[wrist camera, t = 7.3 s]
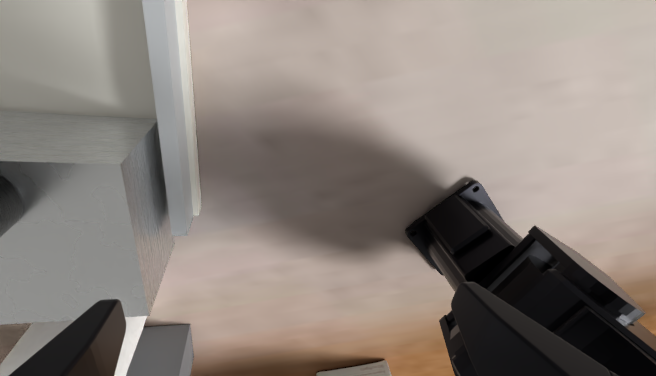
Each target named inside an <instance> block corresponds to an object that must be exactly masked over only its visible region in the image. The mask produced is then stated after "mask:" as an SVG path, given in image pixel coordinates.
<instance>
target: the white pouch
mask: <svg viewBox="0 0 656 376" xmlns="http://www.w3.org/2000/svg"><path fill="white" fill-rule="evenodd" d="M146 318H147V316H138V317H125V320H126V332H125V336H124V340H123V344H122V348H121V351H120V355H119V359H118V363H117V367H116V371H115V374H114V376H126V374H127V370H128V368H129V365H130V363H131V360H132V357H133V354H134V351H135V349H136V346H137V343H138V340H139V338H140V335H141V333H142V330H143V327H144V324H145V321H146ZM73 321H75V320H70V321H53V322H36V323H32V324H31V325H30V327H29V328H28V329H27V331H26V332H25V333H24V334H23V336H22V337H21V338H20V340H19V341H18V342H17V344H16V345H15V346H14V347H13V349H12V350H11V352H10V353H9V354H8V355H7V356H6V358H5V359H4V360H3V362H2V363H1V364H0V376H9V375H10V374H11V373H12V372H13V371H15V370H16V369H17V368H18V367H19V366H21V365H22V364H23V363H24V362H25V361H27V360H28V359H29V358H30V357H31V356H33V355H34V354H35V353H36V352H37V351H39V350H40V349H41V348H42V347H43V346H45V345H46V344H47V343H48V342H49V341H51V340H52V339H53V338H54V337H55V336H57V335H58V334H59V333H60V332H61V331H63V330H64V329H65V328H66V327H67V326H69V325H70V324H71V323H72V322H73Z"/></svg>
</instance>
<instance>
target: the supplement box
mask: <svg viewBox="0 0 656 376" xmlns="http://www.w3.org/2000/svg"><path fill="white" fill-rule="evenodd" d="M316 376H392V375H391V373H390V370H389V366H388V363H387V361H386V360H383V361H380V362H377V363H371V364H366V365H361V366H355V367H349V368H343V369H337V370H331V371H321V372H318V373H317V374H316Z"/></svg>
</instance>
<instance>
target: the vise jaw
mask: <svg viewBox="0 0 656 376" xmlns="http://www.w3.org/2000/svg"><path fill="white" fill-rule="evenodd" d="M173 247H174V237H173V236H172V232H171V224H170V216H169V208H168V200H167V192H166V185H165V177H164V169H163V161H162V153H161V145H160V138H159V130H158V122H157V119H146V118H128V117H110V116H92V115H74V114H56V113H38V112H20V111H2V110H0V325H2V324H19V323H36V322H53V321H70V320H76V319H77V318H78V317H79V316H81V315H82V314H83V313H84V312H85V311H87V310H88V309H89V308H90V307H91V306H93V305H94V304H95V303H96V302H98V301H100V300H104V299H119V300H120V301H121V303H122V308H123V312H124V316H125V317H138V316H149V315H150V312H151V310H152V307H153V304H154V301H155V298H156V295H157V292H158V290H159V287H160V284H161V281H162V278H163V275H164V273H165V270H166V267H167V264H168V261H169V258H170V255H171V253H172V250H173Z"/></svg>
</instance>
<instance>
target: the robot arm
mask: <svg viewBox="0 0 656 376" xmlns="http://www.w3.org/2000/svg"><path fill="white" fill-rule="evenodd" d="M475 186H476V188H475V189H473V188H474V187H475ZM412 231H414V232H413V233H411V232H412ZM405 233H406V235H407V236H408V238H409V239H410V240H411V241H412V242H413V243H414V245H415V246H416V247H417V248H418V249H419V250H420V251H421V253H422V254H423V255H424V256H425V257H426V258H427V259H428V260H429V262H430V263H431V264H432V265H433V266H434V267H435V268H436V270H437V271H438V272H439V273H440V274H441V275H444V276H445V278H446V279H447V281H448V282H449V284H450V285H451V287H452V288H453V290H454V291H455V294H454V297H453V299H452V303H451V308H452V311H451V312H450V313H449V314H448V315H444V316H443V317H442V318H441V319H440V320H439V322H440V325H441V329H442V332H443V336H444V339H445V343H446V346H447V350H448V353H449V357H450V360H451V364H452V367H453V371H454V373H455V376H656V336H655V335H654V334H652V333H651V332H650V331H649V330H647V329H646V328H645V327H644V326H642V325H641V324H640V323H639V322H638V321H637V320H638V319H639V318H640V317H642V316H643V315H644V314H646V313H645V311H644V310H643V309H642V308H641V307H640V306H639V305H638V304H637V303H636V302H635V301H634V300H633V299H632V298H631V297H630V296H629V295H628V294H627V293H625V292H624V291H623V290H622V289H621V288H620V287H619V286H618V285H617V284H616V283H615V282H614V281H613V280H612V279H611V278H610V277H609V276H608V275H607V274H605V273H604V272H603V271H601V270H600V269H599V268H597V267H596V266H595V265H593V264H592V263H591V262H589V261H588V260H587V259H585V258H584V257H583V256H581V255H580V254H579V253H578V252H576V251H575V250H573V249H572V248H570V247H568V246H567V245H565V244H564V243H562V242H560V241H559V240H557V239H556V238H554V237H552V236H551V235H549V234H548V233H546V232H545V231H543V230H541V229H540V228H538V227H537V226H534V227H533V228H532V229H531V230H530V231H529V234H528V235H527V236H526V237H525V238H524V239H523V238H522V237H521V236H520V235H518V234H517V233H516V232H515V231H514V230H513V229H512V228H511V227H510V226H508V225H507V224H506V223H505V222H504V221H503V219H502V217H501V216H500V214H499V212H498V211H497V209H496V207H495V206H494V204H493V202H492V201H491V199H490V198H489V196H488V194H487V193H486V191H485V189H484V188H483V186H482V185H481V184H480V183H479V182H478V181H472V182H470V183H468V184H467V185H466V186H464V187H463V188H461V189H460V190H459V191H457V192H456V193H454V194H453V195H452V196H450V197H449V198H448V199H446V200H445V201H443V202H442V203H441V204H439V205H438V206H436V207H435V208H434V209H432V210H431V211H429V212H428V213H427V214H425V215H424V216H422V217H421V218H420V219H418V220H417V221H416V222H414V223H413V224H411V225H410V226H409V227H407V228H406V230H405ZM125 332H126V320H125V316H124V312H123V308H122V303H121V301H120V300H119V299H104V300H100V301H98V302H96V303H95V304H94V305H93V306H91V307H90V308H89V309H88V310H87V311H85V312H84V313H83V314H82V315H81V316H79V317H78V318H77V319H76V320H75V321H73V322H72V323H71V324H70V325H69V326H67V327H66V328H65V329H64V330H63V331H61V332H60V333H59V334H58V335H57V336H55V337H54V338H53V339H52V340H51V341H49V342H48V343H47V344H46V345H45V346H43V347H42V348H41V349H40V350H39V351H37V352H36V353H35V354H34V355H33V356H31V357H30V358H29V359H28V360H27V361H25V362H24V363H23V364H22V365H21V366H19V367H18V368H17V369H16V370H15V371H13V372H12V373H11V374H10V375H9V376H114V374H115V371H116V367H117V363H118V359H119V355H120V351H121V348H122V344H123V340H124V336H125Z"/></svg>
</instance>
